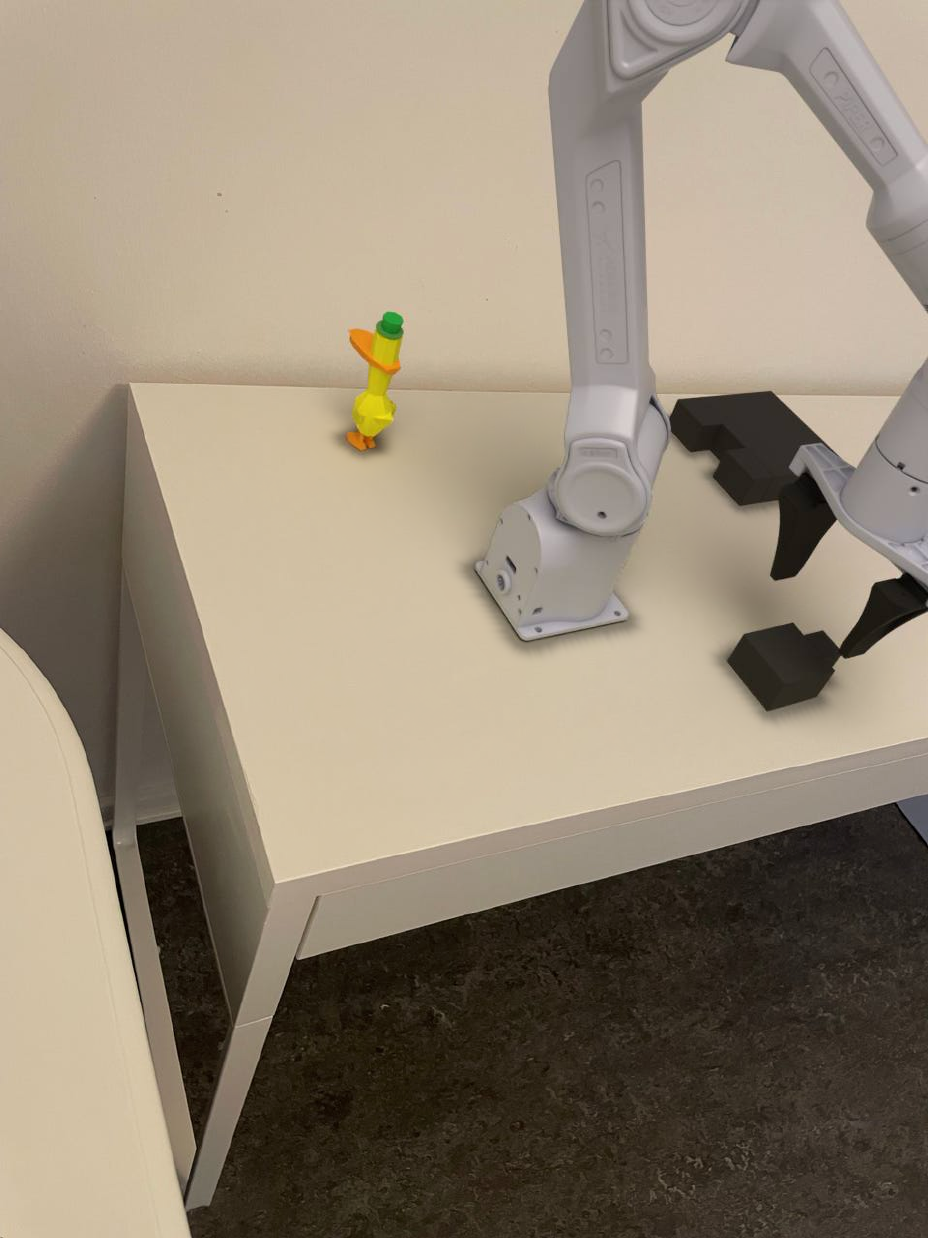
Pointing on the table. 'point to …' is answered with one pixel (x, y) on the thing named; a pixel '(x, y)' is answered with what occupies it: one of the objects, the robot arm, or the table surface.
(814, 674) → the dark brown stepped block
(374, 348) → the toy figure
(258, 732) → the table surface
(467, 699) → the table surface
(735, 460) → the big pad
